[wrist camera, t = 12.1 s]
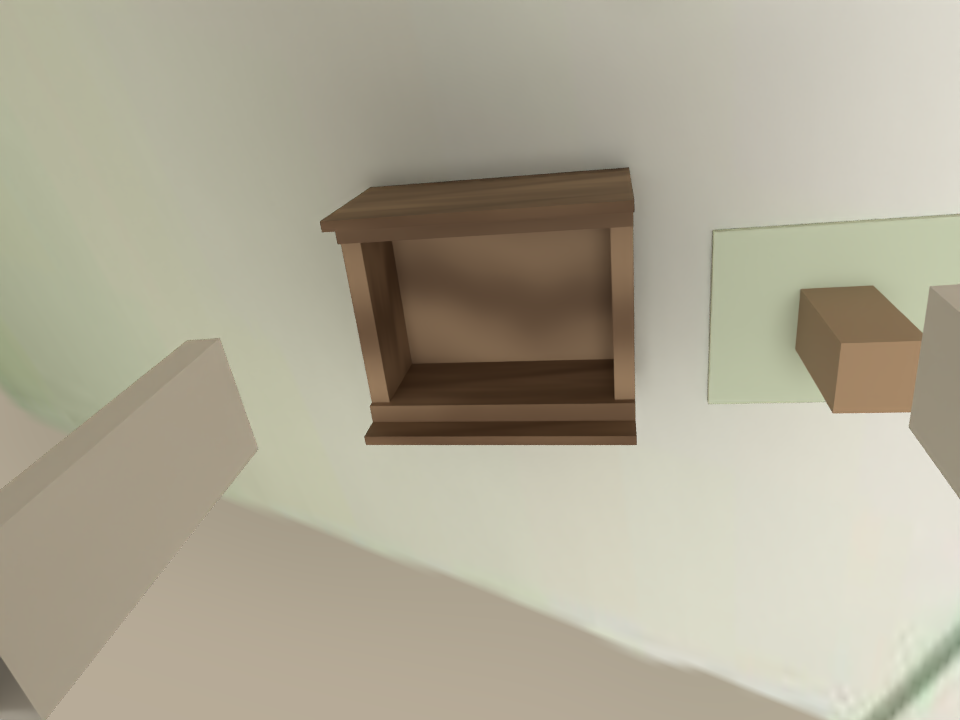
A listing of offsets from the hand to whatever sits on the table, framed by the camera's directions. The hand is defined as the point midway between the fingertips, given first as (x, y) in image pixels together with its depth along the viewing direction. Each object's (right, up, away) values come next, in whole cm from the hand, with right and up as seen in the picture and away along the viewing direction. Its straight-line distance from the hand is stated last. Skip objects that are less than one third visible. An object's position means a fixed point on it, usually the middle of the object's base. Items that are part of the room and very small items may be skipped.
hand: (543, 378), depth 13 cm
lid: (+18, +3, +24) cm, 30 cm away
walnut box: (0, +5, +26) cm, 26 cm away
